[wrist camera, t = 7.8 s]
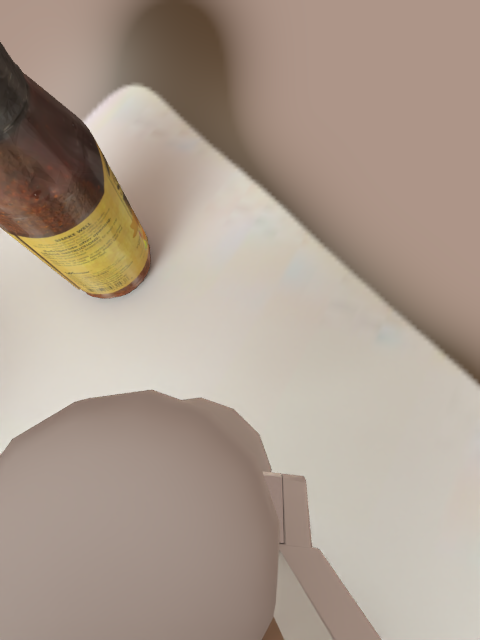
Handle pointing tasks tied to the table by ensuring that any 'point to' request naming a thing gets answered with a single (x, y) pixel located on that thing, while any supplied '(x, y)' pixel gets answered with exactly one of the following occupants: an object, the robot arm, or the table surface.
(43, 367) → the table surface
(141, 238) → the sauce bottle
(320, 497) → the table surface
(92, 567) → the salt shaker
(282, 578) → the robot arm
